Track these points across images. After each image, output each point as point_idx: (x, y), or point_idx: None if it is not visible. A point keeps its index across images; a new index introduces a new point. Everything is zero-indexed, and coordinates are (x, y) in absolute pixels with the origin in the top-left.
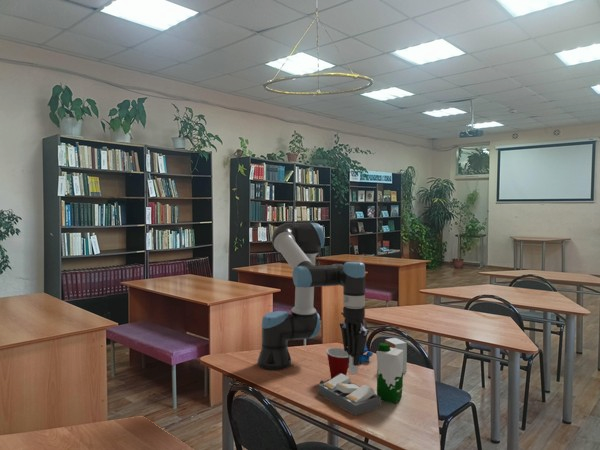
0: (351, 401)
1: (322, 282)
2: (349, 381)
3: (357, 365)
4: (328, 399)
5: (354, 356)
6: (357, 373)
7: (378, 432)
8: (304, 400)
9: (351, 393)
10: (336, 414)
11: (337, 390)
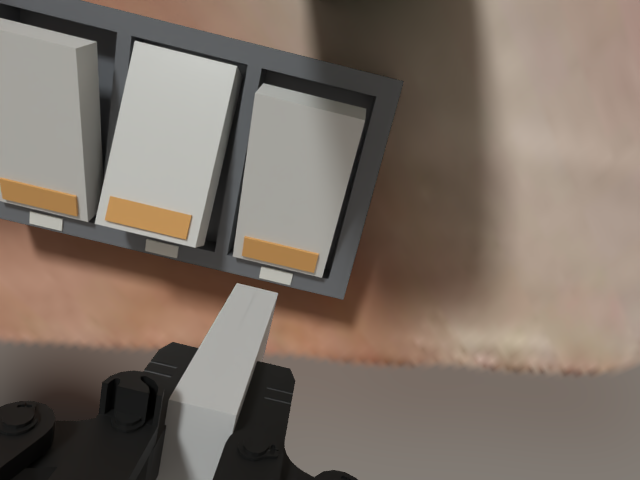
0: (293, 274)
1: None
2: (93, 53)
3: (263, 336)
4: None
5: None
6: (276, 295)
7: (517, 336)
8: (39, 313)
9: (243, 220)
10: None
11: None
